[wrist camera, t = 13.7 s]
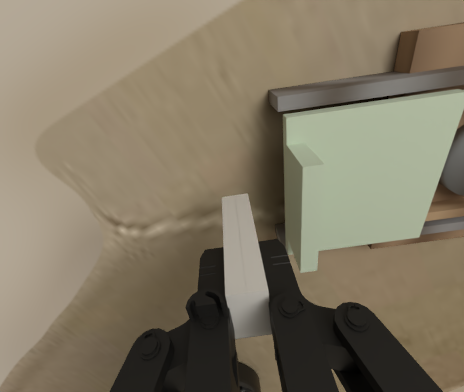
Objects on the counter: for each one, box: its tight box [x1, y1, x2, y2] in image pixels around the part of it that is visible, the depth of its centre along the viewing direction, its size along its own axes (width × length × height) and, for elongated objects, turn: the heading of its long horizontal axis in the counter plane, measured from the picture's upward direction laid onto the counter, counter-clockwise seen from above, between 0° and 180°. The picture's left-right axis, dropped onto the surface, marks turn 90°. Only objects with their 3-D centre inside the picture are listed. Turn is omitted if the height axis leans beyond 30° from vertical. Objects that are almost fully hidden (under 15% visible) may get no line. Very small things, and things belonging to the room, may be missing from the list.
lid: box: [283, 89, 464, 273], centre depth 14 cm, size 10×10×4 cm
